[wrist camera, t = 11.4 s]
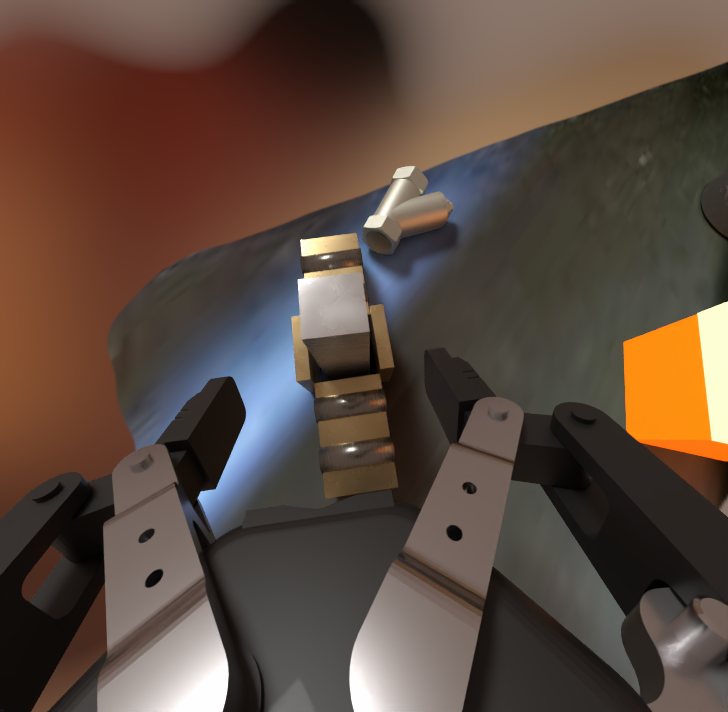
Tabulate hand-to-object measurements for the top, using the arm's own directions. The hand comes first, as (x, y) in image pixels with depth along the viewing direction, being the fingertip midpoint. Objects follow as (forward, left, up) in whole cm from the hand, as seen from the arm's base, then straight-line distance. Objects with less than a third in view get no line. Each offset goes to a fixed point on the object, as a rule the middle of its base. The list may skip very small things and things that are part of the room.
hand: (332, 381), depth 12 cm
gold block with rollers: (0, -5, -13) cm, 14 cm away
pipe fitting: (-8, -18, -13) cm, 23 cm away
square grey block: (0, -4, -13) cm, 14 cm away
